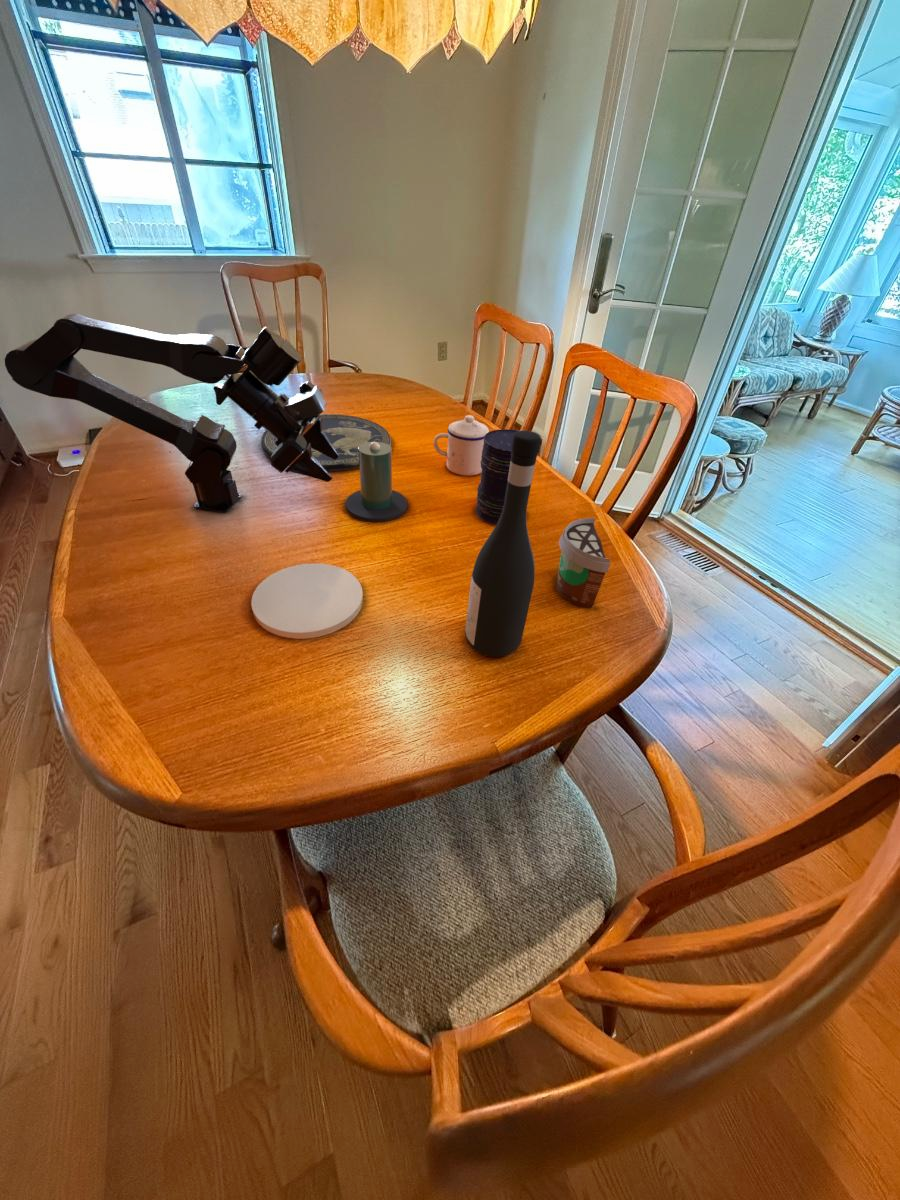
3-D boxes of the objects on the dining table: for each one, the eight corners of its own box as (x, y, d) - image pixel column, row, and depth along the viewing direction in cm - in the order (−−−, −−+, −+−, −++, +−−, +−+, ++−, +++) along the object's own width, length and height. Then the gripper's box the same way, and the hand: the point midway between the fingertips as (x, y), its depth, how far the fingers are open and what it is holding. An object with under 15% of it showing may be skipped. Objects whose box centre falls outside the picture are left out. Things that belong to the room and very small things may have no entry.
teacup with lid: (486, 461, 116) (492, 411, 108) (483, 478, 109) (490, 426, 101) (435, 455, 116) (437, 405, 109) (430, 472, 109) (432, 420, 102)
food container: (544, 564, 86) (556, 513, 79) (580, 566, 86) (594, 516, 79) (554, 611, 76) (568, 558, 70) (593, 613, 76) (611, 561, 70)
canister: (373, 513, 93) (370, 452, 85) (355, 500, 96) (351, 440, 89) (398, 504, 96) (398, 444, 89) (380, 492, 100) (378, 433, 92)
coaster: (337, 517, 93) (336, 513, 92) (356, 487, 102) (356, 484, 101) (399, 526, 92) (399, 522, 91) (413, 495, 101) (413, 492, 100)
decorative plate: (234, 452, 107) (294, 406, 129) (236, 460, 108) (295, 413, 130) (368, 474, 103) (405, 422, 126) (368, 482, 105) (405, 430, 127)
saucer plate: (232, 628, 69) (230, 622, 68) (280, 562, 81) (279, 556, 80) (343, 647, 68) (342, 640, 67) (375, 577, 80) (375, 571, 79)
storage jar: (478, 526, 94) (487, 450, 84) (472, 500, 101) (479, 428, 91) (530, 526, 95) (544, 452, 85) (519, 500, 102) (532, 429, 93)
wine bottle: (456, 650, 68) (478, 440, 49) (474, 615, 74) (501, 415, 55) (512, 668, 67) (558, 457, 47) (526, 630, 72) (572, 429, 53)
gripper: (280, 389, 73) (359, 463, 81) (303, 355, 87) (368, 421, 95) (236, 438, 78) (315, 503, 86) (264, 398, 92) (330, 457, 100)
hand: (334, 468), depth 92 cm, fingers open, 9 cm apart
